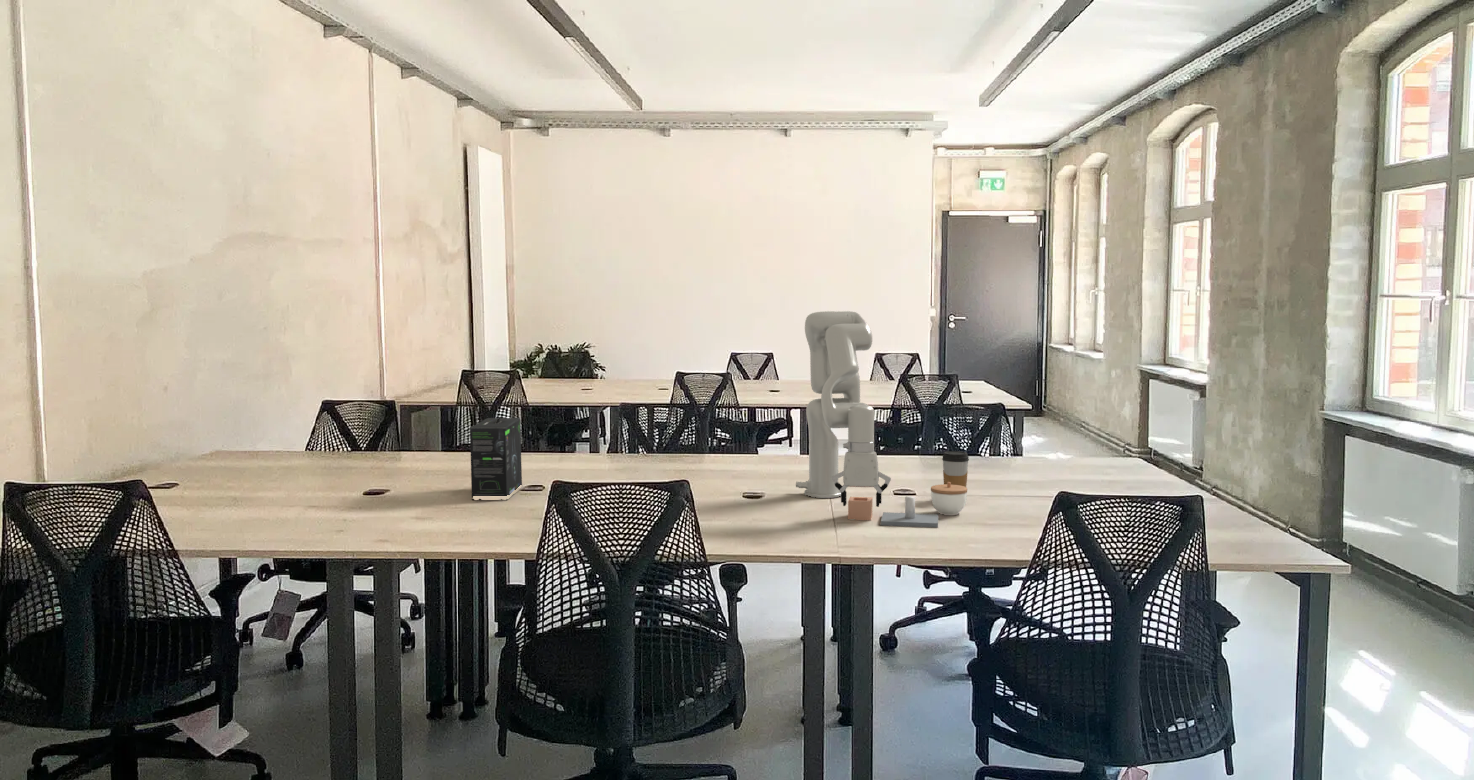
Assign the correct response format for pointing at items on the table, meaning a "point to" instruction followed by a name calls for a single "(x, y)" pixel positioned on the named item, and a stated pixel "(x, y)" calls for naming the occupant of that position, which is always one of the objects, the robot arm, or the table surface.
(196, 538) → the table surface
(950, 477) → the coffee cup
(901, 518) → the board
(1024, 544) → the table surface
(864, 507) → the collar
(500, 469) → the headset box
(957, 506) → the lidded jar
